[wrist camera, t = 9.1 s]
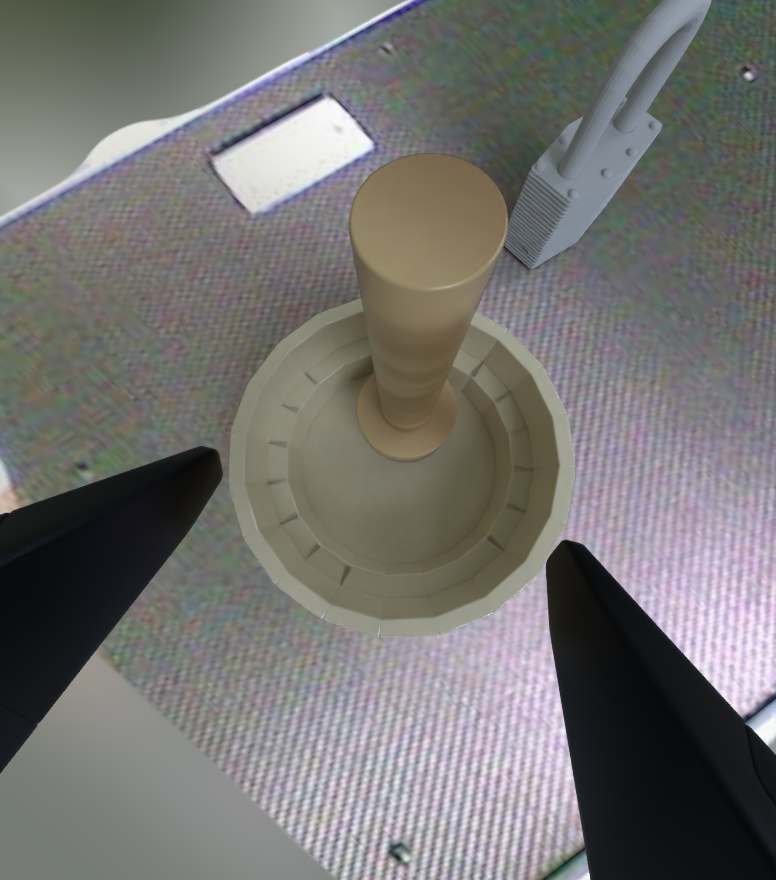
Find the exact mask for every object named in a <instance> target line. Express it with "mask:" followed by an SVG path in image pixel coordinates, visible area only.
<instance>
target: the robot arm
mask: <svg viewBox="0 0 776 880" xmlns="http://www.w3.org/2000/svg"><path fill="white" fill-rule="evenodd" d="M222 476H223V471H222V466H221V461H220V456H219V453H218V451H217V450H215V449H212V448H208V447H204V446H199V447H196V448H193V449H190V450H187V451H184V452H182V453H179V454H176V455H173V456H170V457H167V458H164V459H161V460H158V461H155V462H153V463H150V464H147V465H144V466H141V467H138V468H135V469H132V470H129V471H126V472H124V473H121V474H118V475H115V476H112V477H109V478H106V479H103V480H100V481H97V482H94V483H92V484H89V485H86V486H83V487H80V488H77V489H74V490H71V491H68V492H65V493H62V494H60V495H57V496H54V497H51V498H48V499H45V500H42V501H39V502H36V503H33V504H31V505H28V506H25V507H22V508H19V509H16V510H13V511H12V512H11V513H4V514H1V515H0V773H1V772H2V771H3V769H4V768H5V767H6V766H7V764H8V763H9V762H10V760H11V759H12V757H14V755H15V754H16V752H17V751H18V750H19V749H20V748H21V746H22V745H23V744H24V742H25V741H26V740H27V739H28V737H29V736H30V735H31V733H32V732H33V731H34V730H35V728H36V727H37V724H38V723H39V722H40V721H41V720H42V719H43V718H44V716H45V715H46V714H47V712H48V711H49V710H50V708H51V707H52V706H53V705H54V704H55V702H56V701H57V700H58V698H59V697H60V696H61V695H62V693H63V692H64V691H65V689H66V688H67V687H68V686H69V684H70V683H71V681H73V679H74V678H75V677H76V675H77V674H78V673H79V672H80V670H81V669H82V668H83V666H84V665H85V664H86V663H87V661H88V660H89V659H90V657H91V656H92V655H93V654H94V652H95V651H96V650H97V648H98V647H99V646H100V645H101V643H102V642H103V641H104V640H105V638H106V637H107V636H108V634H109V633H110V632H111V631H112V629H113V628H114V627H115V625H116V624H117V623H118V622H119V620H120V619H121V618H122V616H123V615H124V614H125V613H126V611H127V610H128V609H129V607H130V606H131V605H132V604H133V602H134V601H135V600H136V599H137V597H138V596H139V595H140V593H141V592H142V591H143V590H144V588H145V587H146V586H147V584H148V583H149V582H150V581H151V579H152V578H153V577H154V575H155V574H156V573H157V572H158V570H159V569H160V568H161V567H162V565H163V564H164V563H165V561H166V560H167V559H168V558H169V556H170V555H171V554H172V552H173V551H174V550H175V549H176V547H177V546H178V545H179V543H180V542H181V541H182V540H183V538H184V537H185V536H186V534H187V533H188V532H189V530H190V529H191V527H192V526H193V524H194V523H195V521H196V520H197V518H198V517H199V515H200V513H201V512H202V510H203V509H204V507H205V505H206V504H207V502H208V501H209V499H210V498H211V496H212V494H213V493H214V491H215V490H216V488H217V486H218V485H219V483H220V481H221V479H222ZM546 579H547V597H548V615H549V628H550V636H551V643H552V649H553V655H554V661H555V667H556V673H557V679H558V685H559V691H560V697H561V703H562V710H563V716H564V722H565V728H566V734H567V740H568V746H569V752H570V758H571V764H572V770H573V776H574V782H575V789H576V795H577V801H578V807H579V813H580V819H581V825H582V831H583V837H584V843H585V849H586V855H587V861H588V867H589V874H590V880H776V755H775V754H774V753H773V751H772V750H771V749H770V748H769V747H768V746H767V745H766V744H765V743H764V741H763V740H762V739H761V738H760V737H759V736H758V735H757V734H756V733H755V732H754V731H753V729H752V728H751V727H750V726H748V725H746V724H745V722H744V720H743V719H742V718H741V716H740V715H739V714H738V713H737V712H736V711H735V710H734V709H733V708H732V707H731V706H730V704H729V703H728V702H727V701H726V700H725V699H724V698H723V697H722V696H721V695H720V694H719V692H718V691H717V690H716V689H715V688H714V687H713V686H712V685H711V684H710V683H709V681H708V680H707V679H706V678H705V677H704V676H703V675H702V674H701V673H700V672H699V671H698V669H697V668H696V667H695V666H694V665H693V664H692V663H691V662H690V661H689V660H688V659H687V657H686V656H685V655H684V654H683V653H682V652H681V651H680V650H679V649H678V648H677V647H676V645H675V644H674V643H673V642H672V641H671V640H670V639H669V638H668V637H667V636H666V634H665V633H664V632H663V631H662V630H661V629H660V628H659V627H658V626H657V625H656V624H655V622H654V621H653V620H652V619H651V618H650V617H649V616H648V615H647V614H646V613H645V612H644V610H643V609H642V608H641V607H640V606H639V605H638V604H637V603H636V602H635V601H634V600H633V598H632V597H631V596H630V595H629V594H628V593H627V592H626V591H625V590H624V589H623V587H622V586H621V585H620V584H619V583H618V582H617V581H616V580H615V579H614V578H613V577H612V575H611V574H610V573H609V572H608V571H607V570H606V569H605V568H604V567H603V566H602V565H601V563H600V562H599V561H598V560H597V559H596V558H595V557H594V556H593V555H592V554H591V552H590V551H589V550H588V549H587V548H586V547H585V546H584V545H582V544H581V543H577V542H573V541H570V540H563V541H561V542H560V544H559V545H558V546H557V547H556V549H555V550H554V551H553V553H552V554H551V555H550V556H549V558H548V560H547V563H546Z"/></svg>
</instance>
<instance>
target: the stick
mask: <svg viewBox="0 0 776 880" xmlns="http://www.w3.org/2000/svg"><path fill="white" fill-rule="evenodd" d="M507 232H508V213H507V207H506V204H505V201H504V198H503V196H502V194H501V192H500V190H499V189H498V187H497V186H496V184H495V183H494V182H493V181H492V179H491V178H490V177H489V176H488V175H487V174H485V173H484V172H483V171H482V170H481V169H479V168H478V167H476V166H475V165H473V164H471V163H469V162H467V161H465V160H462V159H460V158H457V157H454V156H449V155H445V154H437V153H423V154H414V155H409V156H405V157H402V158H399V159H396V160H394V161H391V162H389V163H387V164H386V165H384V166H382V167H381V168H379V169H378V170H376V171H375V172H374V173H373V174H372V175H371V176H370V177H369V178H367V179H366V181H365V182H364V183H363V184H362V186H361V187H360V189H359V190H358V192H357V194H356V196H355V198H354V201H353V203H352V207H351V211H350V215H349V233H350V239H351V245H352V250H353V256H354V261H355V267H356V272H357V278H358V283H359V289H360V294H361V300H362V306H363V311H364V317H365V322H366V328H367V333H368V339H369V344H370V350H371V355H372V361H373V366H374V372H373V373H372V374H371V375H370V376H369V377H368V378H367V379H366V381H365V382H364V384H363V385H362V387H361V389H360V392H359V395H358V398H357V404H356V414H357V420H358V423H359V426H360V429H361V431H362V433H363V434H364V436H365V438H366V440H367V442H368V443H369V444H370V446H371V447H372V448H373V449H374V450H375V451H376V452H377V453H378V454H380V455H381V456H383V457H385V458H387V459H389V460H392V461H396V462H403V463H408V462H416V461H419V460H422V459H425V458H427V457H429V456H430V455H432V454H433V453H434V452H435V451H436V450H438V449H439V447H440V446H441V445H442V444H443V443H444V442H445V441H446V440H447V438H448V437H449V435H450V434H451V432H452V430H453V428H454V426H455V423H456V419H457V400H456V396H455V393H454V390H453V388H452V386H451V385H450V383H449V381H448V380H447V377H448V375H449V372H450V370H451V368H452V365H453V363H454V361H455V358H456V356H457V354H458V351H459V349H460V347H461V344H462V342H463V340H464V338H465V335H466V333H467V331H468V328H469V326H470V324H471V321H472V319H473V317H474V314H475V312H476V310H477V307H478V305H479V303H480V300H481V298H482V296H483V293H484V291H485V289H486V286H487V284H488V282H489V279H490V277H491V275H492V272H493V270H494V268H495V266H496V263H497V261H498V259H499V256H500V254H501V252H502V249H503V247H504V244H505V241H506V238H507Z"/></svg>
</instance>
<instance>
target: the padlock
mask: <svg viewBox="0 0 776 880" xmlns="http://www.w3.org/2000/svg"><path fill="white" fill-rule="evenodd" d="M710 4H711V0H662V1H661V2H660V3H659V4H658V6H657V7H656V8H655V9H654V10H653V11H652V12H651V13H650V14H649V15H648V16H647V17H646V18H645V19H644V20H643V21H642V23H641V24H640V25H639V26H638V28H637V29H636V30H635V31H634V33H633V34H632V35H631V37H630V38H629V39H628V40H627V42H626V43H625V45H624V46H623V48H622V49H621V51H620V52H619V53H618V55H617V56H616V58H615V59H614V61H613V63H612V64H611V66H610V68H609V69H608V71H607V73H606V74H605V76H604V78H603V80H602V82H601V83H600V85H599V87H598V89H597V91H596V93H595V95H594V97H593V99H592V101H591V103H590V105H589V107H588V109H587V111H586V113H585V115H584V116H583V117H581V118H580V119H578V120H576V121H574V122H573V123H571V124H569V125H568V126H567V127H566V129H565V130H564V131H563V132H562V133H561V134H560V135H559V137H558V138H557V139H556V140H555V141H554V142H553V143H552V145H551V146H550V147H549V148H548V149H547V150H546V151H545V153H544V154H543V155H542V156H541V157H540V158H539V159H538V161H537V162H536V163H535V164H534V165H533V166H532V168H531V169H530V170H529V174H528V175H527V178H526V180H525V183H524V185H523V187H522V190H521V192H520V195H519V198H518V200H517V202H516V205H515V208H514V209H513V212H512V214H511V217H510V219H509V222H508V232H507V238H506V241H505V244H504V246H505V247H506V248H507V249H508V250H509V251H510V252H511V253H513V254H514V255H515V256H516V257H517V258H518V259H519V260H520V261H522V262H523V263H524V264H525V265H526V266H527V267H528V268H529V269H533V268H535V267H537V266H538V265H540V264H542V263H543V262H545V261H547V260H548V259H550V258H552V257H553V256H555V255H557V254H558V253H560V252H562V251H563V250H565V249H567V248H568V247H570V246H572V245H573V244H575V243H576V242H577V241H578V240H579V238H580V237H581V236H582V235H583V233H584V232H585V231H586V230H587V228H588V227H589V226H590V225H591V224H592V222H593V221H594V220H595V219H596V217H597V216H598V215H599V214H600V213H601V211H602V210H603V209H604V208H605V206H606V205H607V203H608V202H609V201H610V199H611V198H612V197H613V195H614V194H615V192H616V191H617V190H618V188H619V187H620V186H621V184H622V183H623V181H624V180H625V178H626V177H627V176H628V174H629V173H630V172H631V170H632V169H633V167H634V166H635V165H636V163H637V162H638V161H639V159H640V158H641V157H642V155H643V154H644V152H645V151H646V150H647V148H648V147H649V145H650V144H651V143H652V141H653V140H654V138H655V137H656V136H657V135H658V133H659V132H660V130H661V128H662V126H663V125H662V123H660V122H659V121H658V120H656V119H655V118H653V117H652V116H651V115H649V114H648V113H647V112H646V111H647V109H648V107H649V106H650V104H651V103H652V101H653V100H654V98H655V97H656V95H657V94H658V92H659V91H660V89H661V88H662V86H663V84H664V83H665V81H666V80H667V78H668V77H669V75H670V74H671V72H672V71H673V69H674V68H675V66H676V64H677V63H678V61H679V60H680V58H681V57H682V55H683V54H684V52H685V50H686V49H687V47H688V46H689V44H690V42H691V41H692V39H693V38H694V36H695V34H696V33H697V31H698V29H699V27H700V25H701V24H702V22H703V20H704V18H705V15H706V13H707V11H708V8H709V6H710ZM649 60H650V61H649ZM648 62H649V63H648ZM647 63H648V64H647ZM646 64H647V66H646ZM645 66H646V68H645V70H644V71H643V73H642V75H641V76H640V78H639V80H638V82H637V83H636V85H635V87H634V88H633V90H632V92H631V94H630V95H629V97H628V98H626V97H625V95H626V93H627V92H628V90H629V89H630V87H631V86H632V84H633V83H634V81H635V80H636V78H637V77H638V75H639V74H640V72H641V71H642V70H643V68H644V67H645Z"/></svg>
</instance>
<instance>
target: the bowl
mask: <svg viewBox="0 0 776 880" xmlns="http://www.w3.org/2000/svg"><path fill="white" fill-rule="evenodd" d="M373 372H374V366H373V361H372V355H371V350H370V344H369V339H368V333H367V328H366V322H365V317H364V311H363V306H362V300H361V298H360V299H357V300H354V301H351V302H349V303H346V304H343V305H340V306H338V307H335V308H332V309H329V310H326V311H324V312H321V313H320V314H319V313H318V314H317V315H315V316H314V317H313V318H311V319H310V320H308V321H307V322H306V323H304V324H303V325H302V326H300V327H299V328H297V329H296V330H295V331H293V332H292V333H291V334H289V335H288V336H287V337H285V338H284V339H282V340H281V341H280V342H279V343H278V344H277V345H276V346H275V348H274V349H273V350H272V352H271V353H270V354H269V356H268V357H267V358H266V360H265V361H264V362H263V364H262V365H261V366H260V368H259V369H258V370H257V372H256V373H255V374H254V376H253V377H252V378H251V380H250V381H249V383H248V384H247V386H246V389H245V392H244V395H243V397H242V400H241V403H240V406H239V408H238V411H237V414H236V417H235V419H234V422H233V425H232V428H231V430H230V431H231V433H230V452H229V476H228V484H229V490H230V494H231V497H232V501H233V504H234V508H235V511H236V515H237V519H238V522H239V526H240V529H241V533H242V536H243V537H244V540H245V542H246V543H247V545H248V546H249V548H250V549H251V551H252V552H253V554H254V555H255V557H256V558H257V560H258V561H259V562H260V564H261V565H262V567H263V568H264V570H265V571H266V573H267V574H268V576H269V577H270V579H271V580H272V582H273V583H274V584H276V586H277V587H278V588H279V589H281V590H282V591H283V592H285V593H286V594H287V595H289V596H290V597H291V598H293V599H294V600H296V601H297V602H298V603H300V604H301V605H302V606H304V607H305V608H306V609H308V610H309V611H310V612H312V613H313V614H314V615H316V616H317V617H318V618H320V619H323V620H324V621H326V622H329V623H332V624H336V625H339V626H342V627H345V628H348V629H352V630H355V631H358V632H361V633H365V634H368V635H371V636H374V637H380V638H391V637H416V636H437V635H438V634H439V635H442V634H445V633H447V632H450V631H452V630H455V629H457V628H459V627H462V626H464V625H467V624H469V623H472V622H474V621H477V620H479V619H482V618H484V617H487V616H489V615H491V614H493V613H494V612H497V611H498V610H499V609H500V608H501V607H502V606H503V605H505V604H506V603H507V602H508V601H509V600H510V599H511V598H512V597H514V596H515V595H516V594H517V593H518V592H519V591H520V590H521V589H522V588H524V587H525V586H526V585H527V584H528V583H529V582H530V581H531V580H533V579H534V578H535V577H536V576H537V575H538V573H540V571H541V569H542V567H543V565H544V564H545V562H546V560H547V558H548V556H549V555H550V553H551V551H552V549H553V547H554V545H555V544H556V542H557V540H558V538H559V536H560V534H561V533H562V531H563V529H564V527H565V525H566V522H567V518H568V512H569V506H570V500H571V494H572V488H573V482H574V476H575V470H576V468H575V459H574V453H573V446H572V440H571V434H570V427H569V421H568V415H567V412H566V410H565V408H564V406H563V404H562V402H561V400H560V398H559V396H558V394H557V392H556V390H555V388H554V386H553V384H552V382H551V380H550V378H549V376H548V374H547V372H546V370H545V368H544V367H543V365H542V364H541V363H540V362H539V361H538V360H537V359H536V358H535V357H534V356H533V355H532V354H531V353H530V352H529V351H528V350H527V349H526V348H525V347H524V345H523V344H522V343H521V342H520V341H519V340H518V339H517V338H516V337H515V336H514V335H513V334H512V333H511V332H510V331H509V330H507V328H505V327H504V326H502V325H500V324H498V323H496V322H495V321H493V320H491V319H489V318H487V317H486V316H484V315H482V314H480V313H478V312H477V311H476V312H475V314H474V317H473V319H472V321H471V324H470V326H469V328H468V331H467V333H466V335H465V338H464V340H463V342H462V344H461V347H460V349H459V351H458V354H457V356H456V358H455V361H454V363H453V365H452V368H451V370H450V372H449V375H448V377H447V380H448V381H449V383H450V385H451V386H452V388H453V390H454V393H455V396H456V400H457V419H456V423H455V426H454V428H453V430H452V432H451V434H450V435H449V437H448V438H447V440H446V441H445V442H444V443H443V444H442V445H441V446H440V447H439V449H438V450H436V451H435V452H434V453H433V454H432V455H430V456H429V457H427V458H425V459H422V460H419V461H416V462H408V463H403V462H396V461H392V460H389V459H387V458H385V457H383V456H381V455H380V454H378V453H377V452H376V451H375V450H374V449H373V448H372V447H371V446H370V444H369V443H368V442H367V440H366V438H365V436H364V434H363V433H362V431H361V429H360V426H359V423H358V420H357V414H356V404H357V398H358V395H359V392H360V389H361V387H362V385H363V384H364V382H365V381H366V379H367V378H368V377H369V376H370V375H371V374H372V373H373Z"/></svg>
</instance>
